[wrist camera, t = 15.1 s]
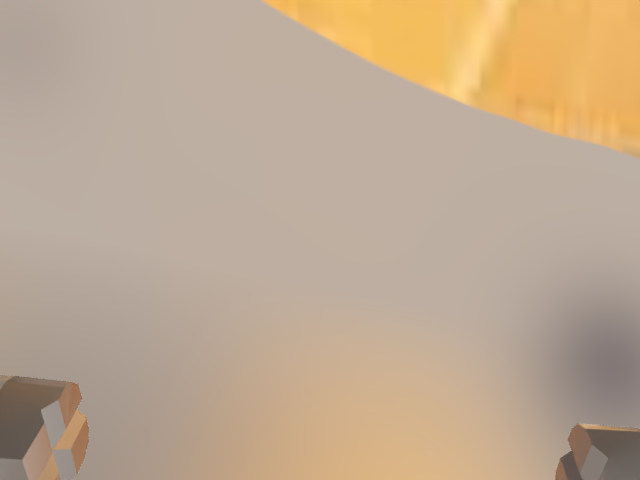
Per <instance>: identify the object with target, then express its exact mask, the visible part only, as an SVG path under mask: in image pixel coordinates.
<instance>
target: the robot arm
mask: <svg viewBox="0 0 640 480" xmlns="http://www.w3.org/2000/svg"><path fill="white" fill-rule="evenodd" d="M81 400H82V396H81V392H80V388H79V385H78V384H76V383H73V382H66V381H56V380H47V379H38V378H29V377H19V376H5V375H0V480H71V479H72V478H74V477H75V476H76V475H77V474H78V472H79V470H80V467H81V465H82V463H83V461H84V458H85V454H86V450H87V446H88V441H89V439H88V438H89V436H88V435H89V427H88V422H87V418H86V417H85V416H84V415H83V414H82V413H81V412H80V411H79V410H78V409H77V408H78V406H79V404H80V402H81ZM568 442H569V445H570V447H571V450H572V451H570V452H569V453H567V454H566V455H564V456H563V457H561V458H560V461H559V464H558V467H557V470H556V479H555V480H640V429H639V428H634V427H620V426H607V425H593V424H592V425H591V424H576V425H575V426H574V428H572V430H571V432H570V435H569V437H568Z"/></svg>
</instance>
